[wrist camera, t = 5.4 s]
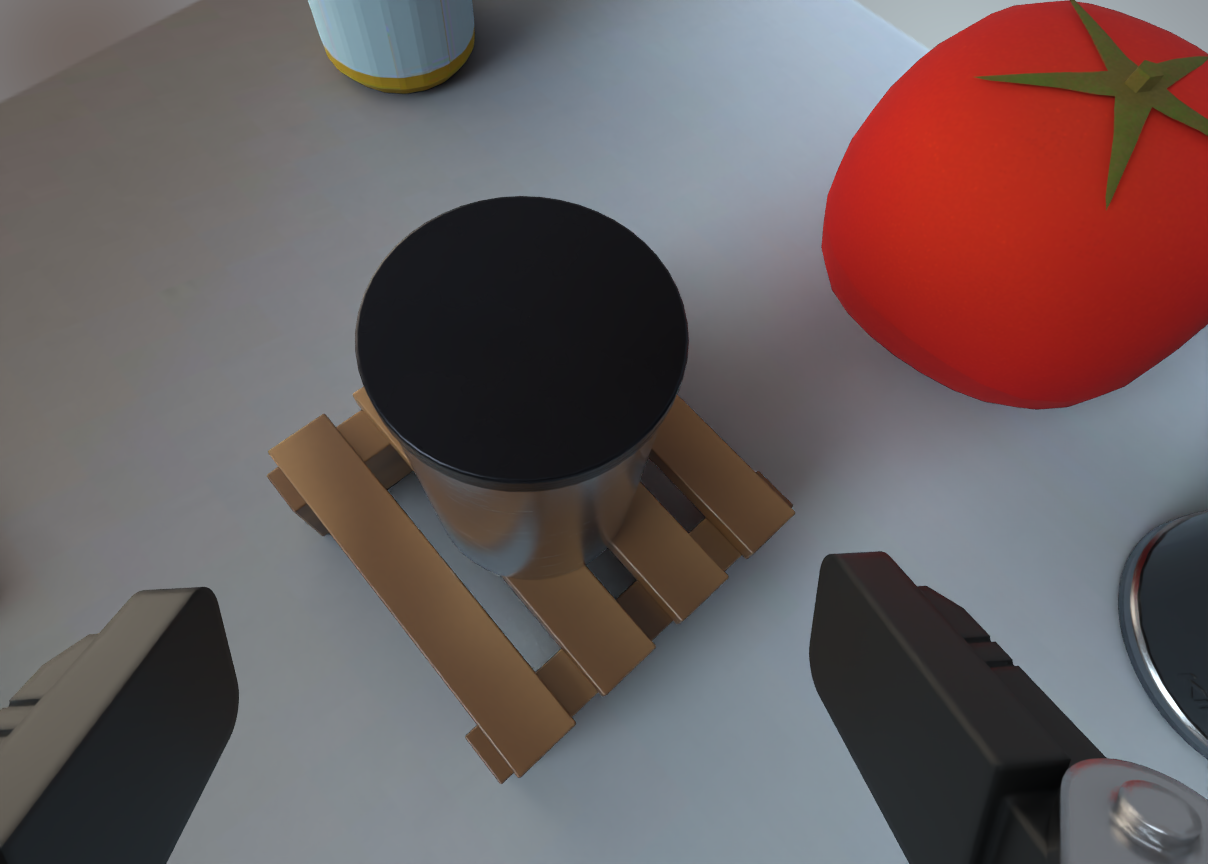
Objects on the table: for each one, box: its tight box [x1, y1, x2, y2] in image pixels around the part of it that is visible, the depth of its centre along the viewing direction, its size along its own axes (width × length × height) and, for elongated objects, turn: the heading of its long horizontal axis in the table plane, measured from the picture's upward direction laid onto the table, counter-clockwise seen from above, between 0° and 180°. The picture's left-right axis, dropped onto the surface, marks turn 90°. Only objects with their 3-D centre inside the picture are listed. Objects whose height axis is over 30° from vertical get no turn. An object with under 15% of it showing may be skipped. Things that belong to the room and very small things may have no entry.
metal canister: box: [355, 196, 689, 580], centre depth 17 cm, size 6×6×9 cm
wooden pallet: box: [267, 387, 795, 784], centre depth 23 cm, size 12×12×4 cm
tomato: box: [821, 0, 1208, 409], centre depth 24 cm, size 13×14×12 cm
